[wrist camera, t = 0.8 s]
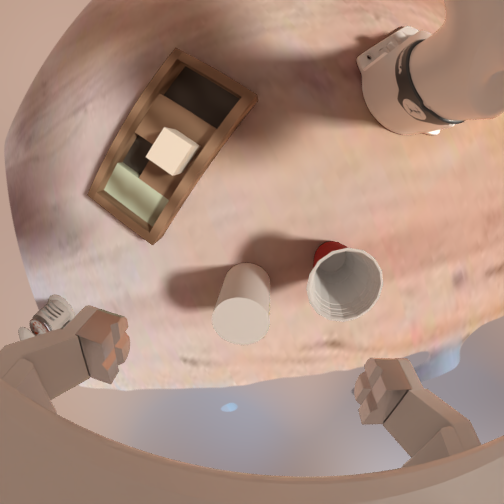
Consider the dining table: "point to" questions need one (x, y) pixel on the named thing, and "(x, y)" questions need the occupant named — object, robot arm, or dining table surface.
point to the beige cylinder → (243, 305)
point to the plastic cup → (343, 282)
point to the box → (147, 131)
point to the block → (172, 151)
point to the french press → (58, 313)
